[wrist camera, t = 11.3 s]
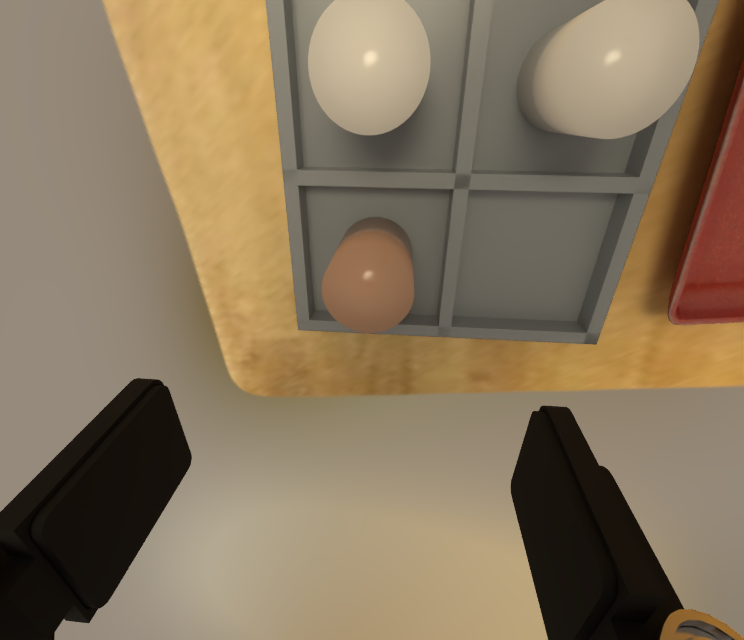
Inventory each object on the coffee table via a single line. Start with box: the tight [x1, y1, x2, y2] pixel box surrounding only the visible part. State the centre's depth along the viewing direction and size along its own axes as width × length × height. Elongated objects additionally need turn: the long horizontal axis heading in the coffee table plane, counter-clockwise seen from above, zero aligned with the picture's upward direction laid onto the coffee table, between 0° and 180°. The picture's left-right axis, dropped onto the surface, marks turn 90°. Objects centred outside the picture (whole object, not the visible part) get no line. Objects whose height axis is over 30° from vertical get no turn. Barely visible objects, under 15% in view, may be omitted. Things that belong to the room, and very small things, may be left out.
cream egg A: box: [308, 0, 431, 135], centre depth 17 cm, size 5×5×6 cm
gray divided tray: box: [266, 0, 719, 344], centre depth 21 cm, size 19×19×2 cm
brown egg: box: [322, 217, 414, 333], centre depth 21 cm, size 5×5×6 cm
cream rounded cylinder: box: [517, 0, 699, 139], centre depth 16 cm, size 5×5×6 cm
